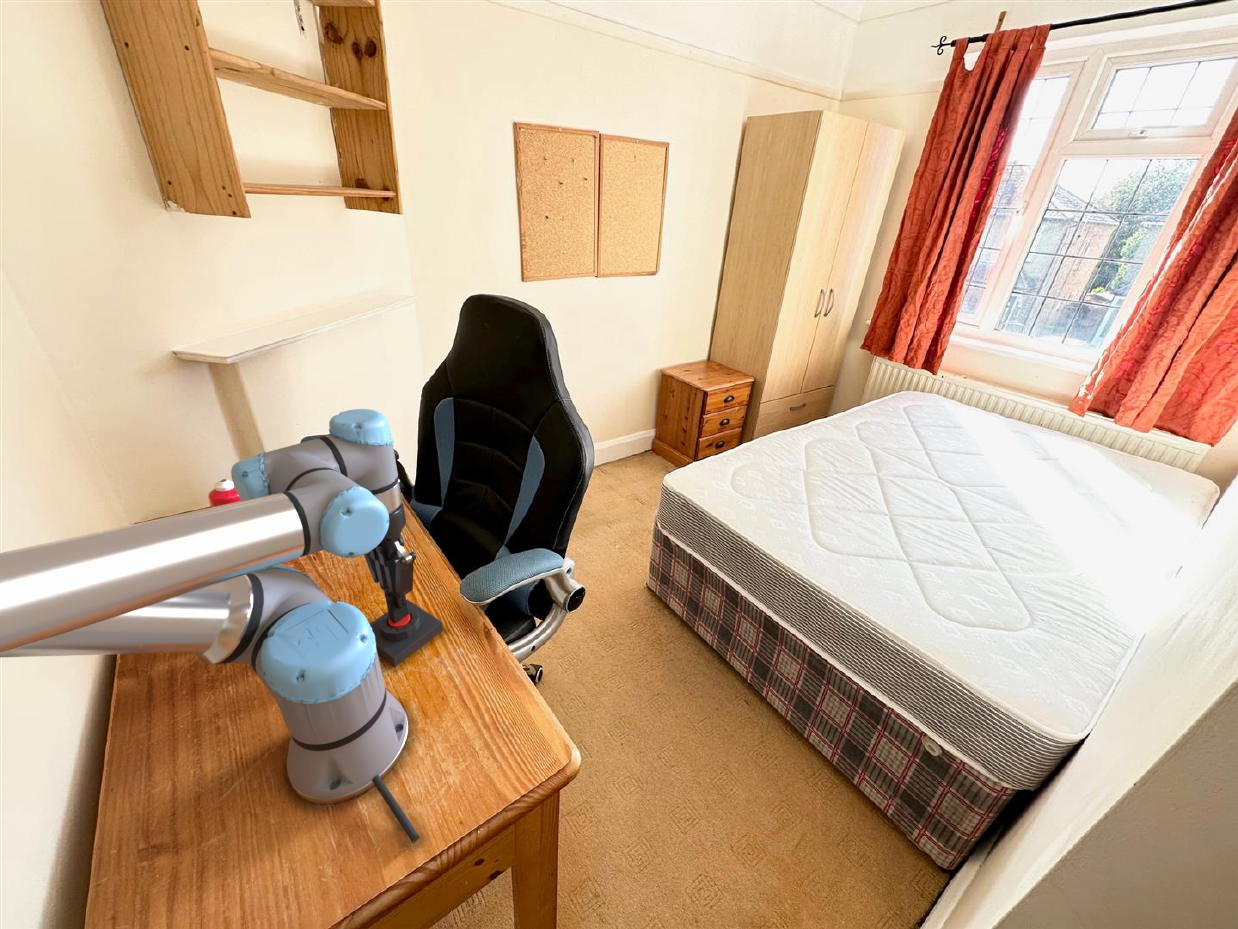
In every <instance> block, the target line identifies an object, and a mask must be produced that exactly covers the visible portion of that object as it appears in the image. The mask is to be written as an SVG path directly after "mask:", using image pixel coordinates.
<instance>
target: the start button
mask: <svg viewBox="0 0 1238 929" xmlns="http://www.w3.org/2000/svg"><path fill="white" fill-rule="evenodd" d="M410 621H411V618H410V614H409V615H407V616H406V617H404V618H403V619H401V620H400V621H398V622H397V623H396V624H395V623H394V622H392V621H391V620H390V618H389V620H388V623H389V627H390V628H401V627H404V626H406V625H407V624H408V623H410Z"/></svg>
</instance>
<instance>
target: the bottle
mask: <svg viewBox="0 0 1238 929" xmlns="http://www.w3.org/2000/svg"><path fill="white" fill-rule="evenodd" d="M213 487H214V488H213V489H211V490H210V491H209V493H208V494H207V498H208V501H209V502H208V503H209V506H210V508H212V507H217V506H221V505H226V504H231V503H235V502H240V501H241V499H240V497H239V496H238V493H237V491H236V489H235V487H234V484H233V481H232V480H228V479H227V478H221V479H219V480H218V481H217V482H216V483H215V484H214V486H213Z"/></svg>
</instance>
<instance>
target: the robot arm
mask: <svg viewBox="0 0 1238 929" xmlns="http://www.w3.org/2000/svg"><path fill="white" fill-rule="evenodd" d="M328 432H329V433H328V434H325V435H321V436H320V437H317V438H314V439H309V440H306V441H303V442H299V443H296V444H292V445H287V446H285V447H281V448H277V449H274V450H269V451H262V452H260V453H259V454H257V455H253V456H251V457H247V458H244V459H241V460H238V461H237V462H235V463H234V464H233V465H232V467H231V470H230V476H231V481H232V482H233V484H234V487H235V489H236V491H237V493H238V496H239V497H240V499H241V501H240V502H235V503H231V504H226V505H221V506H217V507H212V508H211V507H208V508H203V509H198V510H194V511H190V512H185V513H180V514H176V515H171V516H170V515H169V516H166V517H162V518H157V519H152V520H148V521H143V522H138V523H134V524H128V525H124V526H119V527H115V528H111V529H106V530H100V531H97V532H91V533H87V534H82V535H78V536H74V537H73V536H72V537H68V538H64V539H60V540H54V541H50V542H45V543H41V544H36V545H31V546H27V547H22V548H17V549H12V550H8V551H3V552H0V658H27V657H29V658H30V657H32V658H33V657H34V658H35V657H66V656H68V657H69V656H101V655H103V656H104V655H106V656H107V655H137V654H139V655H140V654H174V653H194V654H195V656H196V657H197V658H198V659H199V661H200V662H202V663H203V664H206V665H225V664H226V665H228V664H246V665H247V664H248V665H249V666H250V667H251V668H252V669H253V671H254V673H255V674H256V676H257V677H258V678H259V679H260V681H261V682H262V684H263V685H264V686H265V688H266V689H267V691H268V692H269V693H270V695H271V696H272V697H273V699H274V701H275V702H276V704H277V707H278V708H279V710H280V712H281V715H282V718H283V720H284V722H285V725H286V726H287V727H286V728H287V730H288V732H289V734H290V738H289V744H288V749H287V750H288V751H287V756H286V771H287V776H288V779H289V780H288V781H289V782H290V784H291V786H292V788H293V791H294V792H295V793H296V794H297V795H298V796H299V797H300V798H302V799H303V800H305V801H308V802H310V803H313V804H317V805H319V804H320V805H331V804H338V803H343V802H346V801H349V800H352V799H354V798H356V797H358V796H360V795H363V794H365V793H366V792H368V791H369V790H371V789H373V788H374V787H375V788H376V790H377V791H378V792H379V794H380V795H381V797H382V798H383V800H384V802H385V803H386V804H387V806H388V808H389V809H390V811H391V812H392V814H393V815H394V817H395V818H396V820H397V822H398V823H399V825H400V827H401V828H402V829H403V831H404V832H405V834H406V836H408V839H410V841H411V843H412V844H413V843H416V842H417V841H418V840H419V839H420V834H419V833H418V832H417V830H416V829H415V827H414V825H413V824H412V823H411V821H410V820H409V818H408V817H407V815H406V814H405V812H404V810H403V809H402V807H401V806H400V805H399V803H398V801H397V800H396V798H395V797H394V796H393V794H392V793H391V791H390V790H389V788H388V787H387V785H386V784H385V782H384V781H383V780H384V779H385V778H386V777H387V776H388V775H389V774H390V773H391V772H392V771H393V769H394V768H395V767H396V766H397V764H398V763H399V761H400V759H401V758H402V756H403V754H404V752H405V749H406V747H407V745H408V741H409V732H410V727H409V721H408V716H407V714H406V711H405V709H404V707H403V705H402V704H401V703H400V701H399V700H398V699H397V698H396V697H395V696H394V695H392V693H391V692H389V690H388V689H387V687H386V684H385V680H384V676H383V670H382V666H381V663H380V657H379V654H378V653H377V649H376V642H375V635H374V633H373V631H372V628H371V626H370V623H369V620H368V618H367V617H366V615H365V614H364V613H363V612H362V610H360V609H359V608H357V607H356V606H354V605H352V604H350V603H347V602H344V601H339V600H336V602H334V600H332V599H331V598H330V597H329V596H328V595H327V594H326V593H325V592H324V591H323V590H322V589H321V588H320V587H319V586H318V585H317V583H316V582H315V580H313V579H312V578H311V577H310V576H309V575H307V574H306V573H303V572H302V571H301V570H298V569H297V568H295V567H292V566H290V565H287V564H284V563H287V562H290V561H294V560H296V559H299V558H302V557H305V556H309V555H313V554H316V553H319V552H323V551H325V552H327V553H328V554H329V553H330V554H332V555H334V556H336V557H339V558H344V559H354V558H355V559H356V558H359V557H362V556H363V557H364V559H365V561H366V564H367V567H368V569H369V572H370V575H371V578H372V580H373V582H374V583H375V584H378V583H379V587H380V589H381V590H382V591H383V594H384V598H385V599H384V600H385V603H386V606H387V612H389V617H390V620H391V621H392V622H394V623H395V624H396V623H397V622H398V621H400V620H401V619H403V618H404V617H406V616H407V615H409V613H408V608H407V602H406V600H407V598H406V595H407V594H409V593H411V592H412V591H413V590H414V564H415V563H414V562H415V561H416V559H417V554H416V553H415V552H414V551H411V552H408V551H407V550H406V548H404V546H405V541H404V539H403V537H402V534H401V533H402V532H403V529H404V528H405V526H406V523H407V518H406V511H405V506H404V503H403V497H402V492H401V486H400V483H401V480H400V478H399V473H398V467H397V462H396V455H395V449H394V448H395V447H394V439H393V436H392V432H391V427H390V425H389V421H388V418H387V417H386V415H385V414H383V413H382V412H380V411H379V410H375V409H369V408H356V409H349V410H348V409H347V410H344V411H340V412H339V413H338V414H335V415H333V416H332V417H331V418H330V419H329V422H328Z"/></svg>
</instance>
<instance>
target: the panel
mask: <svg viewBox="0 0 1238 929" xmlns="http://www.w3.org/2000/svg"><path fill="white" fill-rule="evenodd" d="M406 602H407V608H408V613H409V614H410V618H411V621H410V623H408V624H407V625H406V626H404V627H401V628H390V627H389V623H388V620H389V618H390V617H389V612H388V611H387V612H385V613H383V614H382V615H381V616H379V617H378V618H376V619H375V620H374V621H372V622H370V623H369V624H370V626H371V628H372V631H373V633H374V635H375V642H376V649H377V654H378V656H381V657H382V658H383V659H385V660H386V661H387V663H390V664H391V665H392V666H393V667H395V668H397V666H399V665H400V664H402V663H403V662H404V661H406V660H407V659H408V658H409V657H412V655H413V654H415V653H416V652H417V651H419V650H420V649H421V648H422V647H423V646H425V645H426V644H428V643H429V642H430V641H431V640H433V639H434V638H435V637H436V636H438V635H439V634H440V633H442V632H443V631H444V626H443V622H442V621H441V620H440V619H438V618H436V617H435V616H433V615H432V614H430V613H429V612H428V611H425V610H424V609H423V608H421V607H420V606H418V605H417V604H415V603H414V602H413V601H411V600H409V598H406Z"/></svg>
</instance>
